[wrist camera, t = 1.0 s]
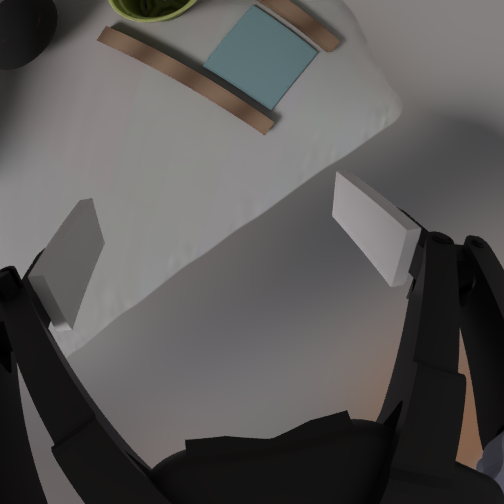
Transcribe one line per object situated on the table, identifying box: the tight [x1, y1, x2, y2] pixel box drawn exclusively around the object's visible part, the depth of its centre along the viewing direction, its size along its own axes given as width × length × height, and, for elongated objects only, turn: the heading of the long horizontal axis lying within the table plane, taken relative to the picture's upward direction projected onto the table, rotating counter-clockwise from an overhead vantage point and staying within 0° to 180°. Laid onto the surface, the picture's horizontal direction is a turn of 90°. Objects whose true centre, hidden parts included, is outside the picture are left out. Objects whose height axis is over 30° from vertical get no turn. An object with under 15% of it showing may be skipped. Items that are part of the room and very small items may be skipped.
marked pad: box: [203, 5, 318, 110], centre depth 30 cm, size 10×10×1 cm
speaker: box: [0, 0, 57, 70], centre depth 17 cm, size 10×10×10 cm
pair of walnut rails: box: [97, 0, 341, 135], centre depth 27 cm, size 24×16×2 cm, turn 54°
